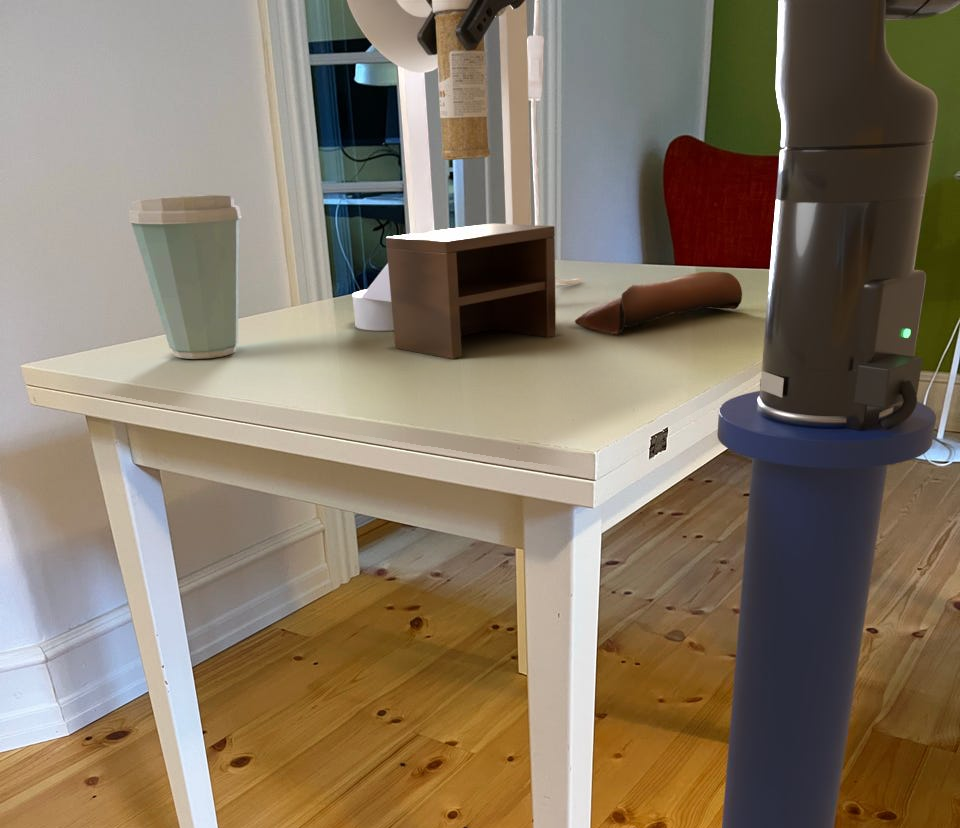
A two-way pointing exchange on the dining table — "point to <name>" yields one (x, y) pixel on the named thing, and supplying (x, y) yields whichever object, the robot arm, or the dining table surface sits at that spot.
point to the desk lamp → (393, 32)
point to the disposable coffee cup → (192, 269)
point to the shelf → (471, 284)
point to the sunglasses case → (664, 301)
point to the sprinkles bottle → (460, 86)
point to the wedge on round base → (374, 305)
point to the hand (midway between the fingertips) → (444, 44)
